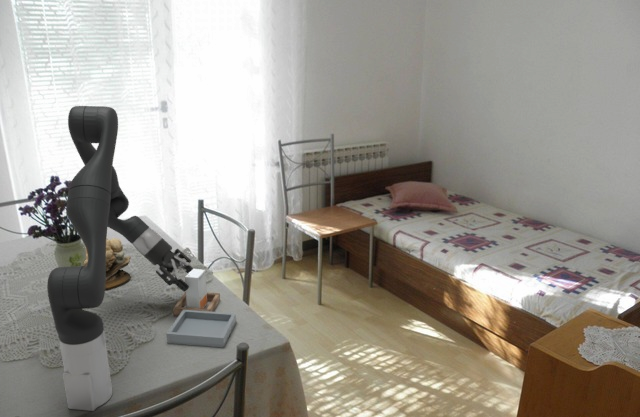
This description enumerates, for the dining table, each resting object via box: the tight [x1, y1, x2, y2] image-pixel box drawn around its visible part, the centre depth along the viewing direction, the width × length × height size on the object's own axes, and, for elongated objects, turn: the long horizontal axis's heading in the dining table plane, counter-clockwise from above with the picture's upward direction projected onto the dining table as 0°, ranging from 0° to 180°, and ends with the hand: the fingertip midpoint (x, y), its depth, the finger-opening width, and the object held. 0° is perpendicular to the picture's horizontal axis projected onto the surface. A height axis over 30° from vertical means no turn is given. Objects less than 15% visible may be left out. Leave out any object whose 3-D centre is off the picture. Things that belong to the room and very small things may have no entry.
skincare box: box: [184, 268, 208, 309], centre depth 160 cm, size 6×4×12 cm
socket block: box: [172, 291, 221, 317], centre depth 161 cm, size 11×11×2 cm
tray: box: [166, 310, 237, 348], centre depth 148 cm, size 13×16×3 cm
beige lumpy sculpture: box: [83, 237, 132, 292], centre depth 174 cm, size 18×12×17 cm, turn 129°
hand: (191, 282), depth 159 cm, fingers open, 8 cm apart
